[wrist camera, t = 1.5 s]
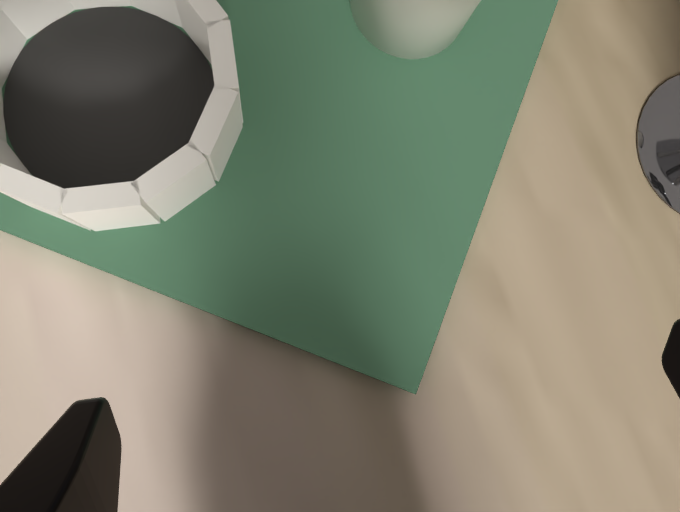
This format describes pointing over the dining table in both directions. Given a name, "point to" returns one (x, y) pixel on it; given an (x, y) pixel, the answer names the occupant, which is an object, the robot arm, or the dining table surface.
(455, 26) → the golf ball tube
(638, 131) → the wine glass
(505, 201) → the dining table surface
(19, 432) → the dining table surface
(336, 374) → the dining table surface
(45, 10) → the putting green
